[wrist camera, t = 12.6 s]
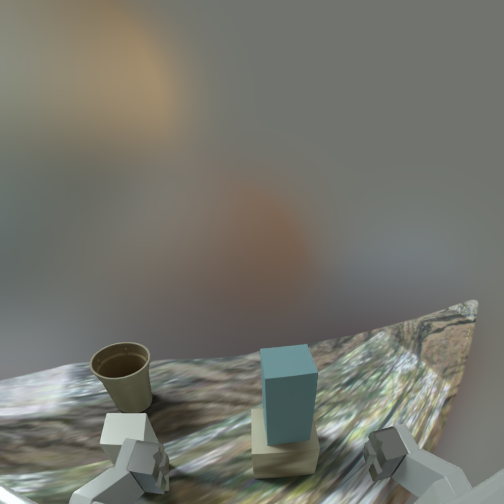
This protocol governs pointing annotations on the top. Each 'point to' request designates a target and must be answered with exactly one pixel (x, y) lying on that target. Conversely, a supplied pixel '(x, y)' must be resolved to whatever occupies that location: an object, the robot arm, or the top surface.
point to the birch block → (281, 453)
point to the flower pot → (125, 375)
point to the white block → (126, 433)
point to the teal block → (288, 393)
